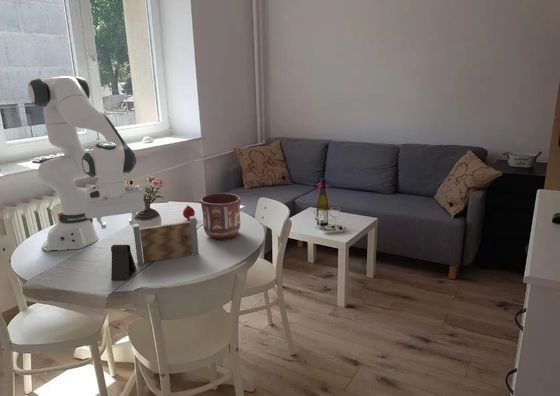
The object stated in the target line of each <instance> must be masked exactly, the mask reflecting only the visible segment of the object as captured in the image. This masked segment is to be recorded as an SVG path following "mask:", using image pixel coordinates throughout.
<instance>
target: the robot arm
mask: <svg viewBox="0 0 560 396" xmlns="http://www.w3.org/2000/svg"><path fill="white" fill-rule="evenodd" d="M90 93H91V89H90V86H89V83H88V82H87V80H86V79H85V78H83V77H80V76H55V77H45V78H36V79H32V80H30V82H28V86H27V94H28V95H27V96H28V97H29V99H30V101H31V103H32V104H34V105H35V106H36V107H41V108H43V119H44V124H45V129H46V133H47V138H48V141H49V143H50V144H51V145H53V147H56V148H59V149H60V150H61V151H62V153H63V154H64V155H63V156H60V157H53V158H50V159H47V160H45V161H43V162H41V163H40V164H39V166H38V168H37V173H38V177H39V179H40V180H41V182H42V183H44V184H45V185H47V186H50V187H51V188H52V189H53V190H54V191H55V192H56V194H57V195H58V198H59V201H60V202H59V203H60V206H61V211H58V213H57V218H58V222H57V223H56V224H55V225H54V226H53V227H51V228H50V229H49V231H48V232H47V238H46V240H45V241H44V242H43V243H42V250H43V249H44V250H46V251H45V252H50V251H49V250H58V251H65V250H66V251H67V249H69V250H77V249H78V250H79V249H84V248H85V247H87V246H89V245H91V244H94V243H96V242H97V241H98V240H99V235H98V233H97V232H96V229H95V224H94V219H96V221H97V222H98V224H100V228H101V229H102V230H103V229H107V224H106V222H103V221H102V218H104V217H110V216H111V217H112V216H119V215H126V214H131V218H128V223H129V225H130V226H131V225H132V226H133V224H135V221H134V220H135V218H136V215H137V214H136V213H140V212H144V211H145V210H146V204H145V199H144V197H145V190H144V188H143V187H141V186H139V185H137V186H126V179H125V176H124V174H130V173H131V172H132V171H133V170H134V168H135V167H136V164H137V157H136V155H135V153H134V151H133V149H131V147H130V146H129V145H128V144H127V143H126V142H125V140H124V139H123V138H122V136H121V135H120V133H119V131H118V130H117V129H116V127H115V125H114V124H113V122H111V120H110V118H109V117H108V116H107V115H106V114H105V113H104V112H102V111H100V110H98V109H97V108H96V107H95V106H94V105H93V104H92V103H91V102H90V100H89V98H90V95H91V94H90ZM77 128H78V129H85V130H90V131H93V132H97V133H98V134H101V135H102V136H103V137H104V139H105V140H106V141H103V142H102V141H101V142H98V143H96V144H95V145H94V147H93V149H92V150H89V151H88V150H87V149H86V148H85V147H84V146H83V144H82V143H81V140H80V138H79V134H78V131H77ZM90 177H91V178H98V179H97V184H96V185H95V186H91V187H89V188H88V189H86V190H84V189H83V188H80V187H77V185H76V182H75V181H77V180H82V179H86V178H90ZM44 250H43V251H44Z"/></svg>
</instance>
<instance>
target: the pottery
mask: <svg viewBox="0 0 560 396" xmlns="http://www.w3.org/2000/svg"><path fill="white" fill-rule="evenodd" d="M200 205H201V211H202V223H203V224H202V225H203V230H204V233H205V234H206V235H207V236H208V237H209V238H210V239H212V240H214V241H226V240H230V239H233V238H234V237H235V236H237V234H238V232H239V231H240V229H241V196H239V195H237V194H234V193H229V192H228V193H225V192H222V193H221V192H220V193H219V192H217V193H211V194H207V195H204V196H202V197H201V198H200Z"/></svg>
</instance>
